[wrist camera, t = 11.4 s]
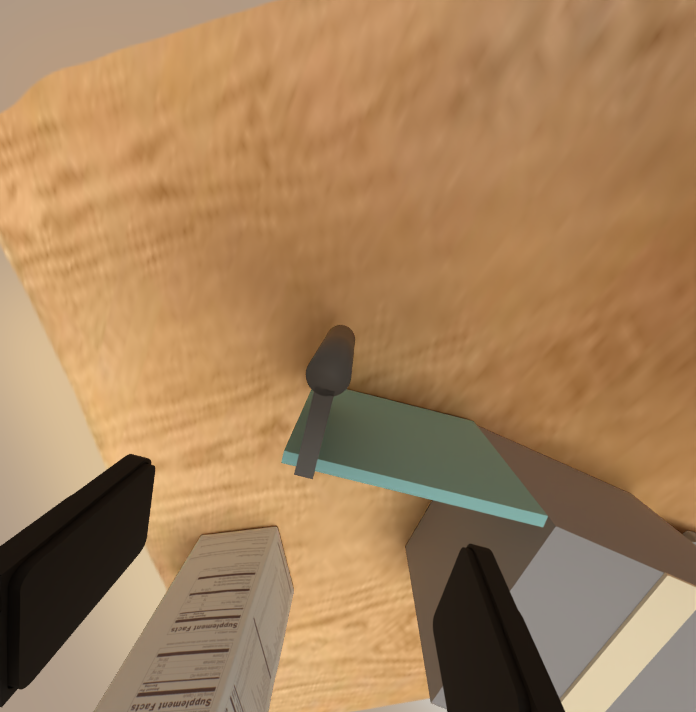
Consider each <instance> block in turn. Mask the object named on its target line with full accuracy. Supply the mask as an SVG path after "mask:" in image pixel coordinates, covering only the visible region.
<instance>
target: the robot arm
mask: <svg viewBox="0 0 696 712" xmlns="http://www.w3.org/2000/svg"><path fill="white" fill-rule="evenodd" d="M154 476H155V466H154V465H151V460H150V459H148V458H145V457H141V456H137V455H133V454H129V455H127V456H125V457H124V458H122V459H121V460H120V461H118V462H117V463H116V464H114V465H113V466H111V467H110V468H109V469H107V470H106V471H105V472H103V473H102V474H100V475H99V476H98V477H96V478H95V479H94V480H92V481H91V482H89V483H88V484H87V485H85V486H84V487H83V488H81V489H80V490H78V491H77V492H76V493H74V494H73V495H71V496H69V497H68V498H66V499H65V500H64V501H62V502H61V503H59V504H58V505H57V506H55V507H54V508H52V509H51V510H50V511H48V512H47V513H45V514H44V515H43V516H41V517H40V518H39V519H37V520H36V521H34V522H33V523H32V524H30V525H29V526H28V527H26V528H25V529H23V530H22V531H21V532H19V533H18V534H16V535H15V536H14V537H12V538H11V539H10V540H8V541H7V542H5V543H4V544H3V545H1V546H0V707H2V706H3V705H4V704H5V703H6V702H7V701H8V699H9V698H10V697H11V696H12V695H13V694H14V692H15V691H16V690H17V689H24V688H25V687H27V686H28V685H29V684H30V683H31V682H32V681H33V680H34V679H35V677H36V676H37V675H38V674H39V673H40V671H41V670H42V669H43V668H44V667H45V665H46V664H47V663H48V662H49V661H50V660H51V658H52V657H53V656H54V655H55V654H56V652H57V651H58V650H59V649H60V648H61V646H62V645H63V644H64V643H65V642H66V640H67V639H68V638H69V637H70V636H71V634H72V633H73V632H74V631H75V630H76V628H77V627H78V626H79V625H80V624H81V623H82V621H83V620H84V619H85V618H86V617H87V615H88V614H89V613H90V612H91V610H92V609H93V608H94V607H95V606H96V605H97V603H98V602H99V601H100V600H101V599H102V597H103V596H104V595H105V594H106V593H107V592H108V590H109V589H110V588H111V587H112V585H113V584H114V583H115V582H116V581H117V580H118V578H119V577H120V576H121V575H122V574H123V572H124V571H125V570H126V569H127V567H128V566H129V565H130V564H131V563H132V562H133V561H134V559H135V558H136V557H137V556H138V554H139V553H140V552H141V550H142V549H143V547H144V545H145V542H146V539H147V532H148V524H149V516H150V508H151V500H152V492H153V484H154ZM433 634H434V639H435V645H436V651H437V656H438V662H439V667H440V673H441V679H442V684H443V690H444V696H445V701H446V707H447V712H565V710H564V708H563V705H562V703H561V701H560V699H559V696H558V694H557V692H556V690H555V688H554V685H553V683H552V681H551V679H550V676H549V674H548V672H547V670H546V668H545V665H544V663H543V661H542V659H541V656H540V654H539V652H538V650H537V647H536V645H535V643H534V641H533V639H532V636H531V634H530V632H529V630H528V627H527V625H526V623H525V621H524V619H523V617H522V615H521V613H520V612H519V611H518V608H517V606H516V604H515V602H514V599H513V597H512V595H511V593H510V591H509V588H508V586H507V584H506V582H505V579H504V577H503V575H502V573H501V570H500V568H499V566H498V564H497V561H496V559H495V557H494V555H493V552H492V551H491V550H490V549H489V548H486V547H482V546H478V545H475V544H468V545H467V547H466V548H465V547H462V548H461V550H460V552H459V554H458V557H457V559H456V562H455V564H454V567H453V569H452V572H451V574H450V577H449V579H448V582H447V584H446V586H445V589H444V591H443V594H442V596H441V599H440V601H439V604H438V606H437V609H436V611H435V614H434V617H433Z"/></svg>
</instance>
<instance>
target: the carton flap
mask: <svg viewBox="0 0 696 712" xmlns="http://www.w3.org/2000/svg"><path fill="white" fill-rule="evenodd" d="M354 345H355V335H354V333H353V331H352V330H351V329H350V328H349V327H347V326H344V325H337V326H335V327H333V328H331V329H330V331H329V332H328V334H327V335H326V337H325V339H324V340H323V342H322V343H321V345H320V347H319V348H318V350H317V352H316V353H315V355H314V356H313V358H312V360H311V361H310V363H309V365H308V367H307V370H306V380H307V383H308V385H309V387H310V388H311V389H312V390H311V392H310V394H309V396H308V399H307V401H306V403H305V405H304V408H303V410H302V412H301V414H300V417H299V419H298V421H297V423H296V425H295V428H294V430H293V432H292V434H291V437H290V439H289V441H288V443H287V445H286V448H285V450H284V453H283V458H282V462H281V463H284V464H289V465H293V466H296V469H295V473H294V475H298V476H302V477H306V478H310V479H313V476H314V472H315V471H317V472H321V473H325V474H329V475H333V476H337V477H341V478H345V479H349V480H353V481H357V482H361V483H365V484H370V485H374V486H378V487H382V488H386V489H390V490H394V491H398V492H402V493H406V494H410V495H414V496H418V497H422V498H426V499H430V500H434V501H438V502H442V503H446V504H450V505H455V506H459V507H463V508H467V509H471V510H475V511H479V512H483V513H487V514H491V515H495V516H499V517H503V518H507V519H511V520H515V521H519V522H523V523H527V524H531V525H535V526H540V527H544V524H545V522H546V520H547V518H548V515H547V514H546V513H545V511H544V510H543V509H542V508H541V506H540V505H539V504H538V503H537V501H536V500H535V499H534V497H533V496H532V495H531V494H530V492H529V491H528V490H527V489H526V487H525V486H524V485H523V483H522V482H521V481H520V480H519V478H518V477H517V476H516V475H515V473H514V472H513V471H512V470H511V468H510V467H509V466H508V464H507V463H506V462H505V461H504V459H503V458H502V457H501V456H500V454H499V453H498V452H497V450H496V449H495V448H494V447H493V445H492V444H491V443H490V442H489V440H488V439H487V438H486V436H485V435H484V434H483V433H482V431H481V430H480V429H479V428H478V426H477V425H476V424H475V422H474V421H471V420H467V419H463V418H459V417H455V416H451V415H447V414H443V413H439V412H435V411H431V410H427V409H423V408H419V407H415V406H411V405H407V404H403V403H399V402H396V401H392V400H388V399H384V398H380V397H376V396H372V395H368V394H364V393H360V392H356V391H352V390H348V389H347V387H348V386H349V384H350V381H351V374H352V364H353V355H354Z"/></svg>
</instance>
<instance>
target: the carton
mask: <svg viewBox="0 0 696 712" xmlns="http://www.w3.org/2000/svg"><path fill="white" fill-rule="evenodd" d="M478 428H479V429H480V430H481V431H482V433H483V434H484V435H485V436H486V438H487V439H488V440H489V442H490V443H491V444H492V445H493V447H494V448H495V449H496V450H497V452H498V453H499V454H500V456H501V457H502V458H503V459H504V461H505V462H506V463H507V464H508V466H509V467H510V468H511V470H512V471H513V472H514V473H515V475H516V476H517V477H518V478H519V480H520V481H521V482H522V483H523V485H524V486H525V487H526V489H527V490H528V491H529V492H530V494H531V495H532V496H533V497H534V499H535V500H536V501H537V503H538V504H539V505H540V506H541V508H542V509H543V510H544V511H545V513H546V514H547V515H548V518H547V520H546V522H545V524H544V527H540V526H535V525H531V524H527V523H523V522H519V521H515V520H511V519H507V518H503V517H499V516H495V515H491V514H487V513H483V512H479V511H475V510H471V509H467V508H463V507H459V506H455V505H450V504H446V503H442V502H438V501H434V500H433V501H432V502H431V504H430V506H429V507H428V509H427V511H426V512H425V514H424V516H423V518H422V519H421V521H420V523H419V524H418V526H417V528H416V529H415V531H414V533H413V535H412V536H411V538H410V540H409V541H408V543H407V545H406V546H405V548H406V554H407V560H408V566H409V572H410V579H411V585H412V591H413V597H414V603H415V609H416V615H417V621H418V627H419V634H420V640H421V646H422V652H423V658H424V664H425V670H426V676H427V682H428V689H429V695H430V701H431V703H432V704H435V705H437V706H439V707H442V708H445V709H447V707H446V701H445V696H444V690H443V684H442V679H441V673H440V667H439V662H438V656H437V651H436V645H435V639H434V634H433V617H434V614H435V611H436V609H437V606H438V604H439V601H440V599H441V596H442V594H443V591H444V589H445V586H446V584H447V582H448V579H449V577H450V574H451V572H452V569H453V567H454V564H455V562H456V559H457V557H458V554H459V552H460V550H461V548H462V547H465V548H466V547H467V545H468V544H475V545H478V546H482V547H486V548H489V549H490V550H491V551H492V552H493V555H494V557H495V559H496V561H497V564H498V566H499V568H500V570H501V573H502V575H503V577H504V579H505V582H506V584H507V586H508V588H509V591H510V593H511V595H512V597H513V599H514V602H515V604H516V606H517V608H518V611H519V612H520V613H521V615H522V617H523V619H524V621H525V623H526V625H527V627H528V630H529V632H530V634H531V636H532V639H533V641H534V643H535V645H536V647H537V650H538V652H539V654H540V656H541V659H542V661H543V663H544V665H545V668H546V670H547V672H548V674H549V676H550V679H551V681H552V683H553V685H554V688H555V690H556V692H557V694H558V696H559V699H560V701H561V703H562V705H563V708H564V710H565V712H696V545H695V544H694V543H692V542H691V541H690V540H689V539H687V538H686V537H685V536H684V535H682V534H681V533H680V532H679V531H677V530H676V529H675V528H674V527H672V526H671V525H670V524H669V523H667V522H666V521H665V520H664V519H662V518H661V517H660V516H658V515H657V514H656V513H655V512H653V511H652V510H651V509H650V508H648V507H647V506H646V505H645V504H643V503H642V502H641V501H640V500H638V499H637V498H636V497H635V496H633V495H632V494H630V493H628V492H626V491H623V490H621V489H619V488H617V487H614V486H612V485H610V484H608V483H605V482H603V481H601V480H599V479H596V478H594V477H592V476H590V475H587V474H585V473H583V472H581V471H578V470H576V469H574V468H572V467H569V466H567V465H565V464H563V463H560V462H558V461H556V460H553V459H551V458H549V457H547V456H544V455H542V454H540V453H538V452H535V451H533V450H531V449H529V448H526V447H524V446H522V445H520V444H517V443H515V442H513V441H511V440H508V439H506V438H504V437H502V436H499V435H497V434H495V433H493V432H490V431H488V430H486V429H484V428H481V427H479V426H478Z"/></svg>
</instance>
